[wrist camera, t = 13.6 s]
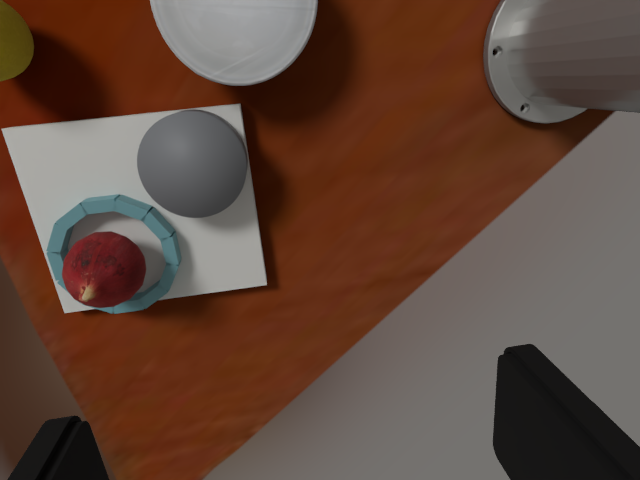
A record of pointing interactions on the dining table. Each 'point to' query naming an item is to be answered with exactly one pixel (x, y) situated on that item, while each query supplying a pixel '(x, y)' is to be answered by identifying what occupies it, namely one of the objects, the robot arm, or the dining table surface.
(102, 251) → the pomegranate
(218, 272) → the carrier plate
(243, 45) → the ramekin
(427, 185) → the dining table surface
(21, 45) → the lemon
